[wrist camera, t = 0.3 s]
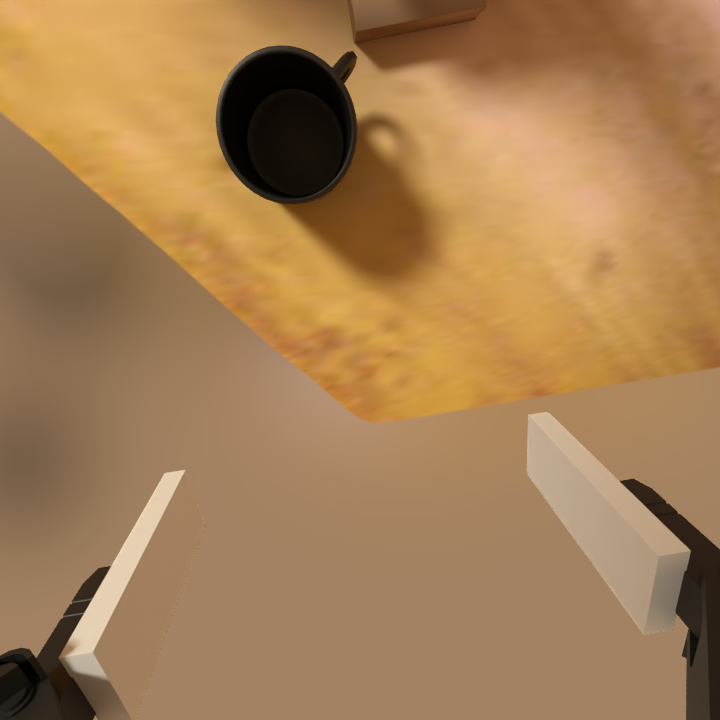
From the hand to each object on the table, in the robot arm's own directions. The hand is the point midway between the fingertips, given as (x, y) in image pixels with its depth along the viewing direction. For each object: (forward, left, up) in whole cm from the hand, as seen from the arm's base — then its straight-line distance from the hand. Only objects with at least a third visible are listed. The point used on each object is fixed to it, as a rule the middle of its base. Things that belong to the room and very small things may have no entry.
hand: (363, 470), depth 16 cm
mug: (-15, 0, -28) cm, 32 cm away
